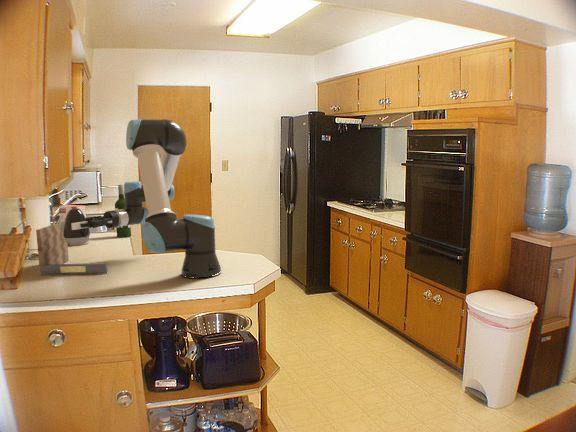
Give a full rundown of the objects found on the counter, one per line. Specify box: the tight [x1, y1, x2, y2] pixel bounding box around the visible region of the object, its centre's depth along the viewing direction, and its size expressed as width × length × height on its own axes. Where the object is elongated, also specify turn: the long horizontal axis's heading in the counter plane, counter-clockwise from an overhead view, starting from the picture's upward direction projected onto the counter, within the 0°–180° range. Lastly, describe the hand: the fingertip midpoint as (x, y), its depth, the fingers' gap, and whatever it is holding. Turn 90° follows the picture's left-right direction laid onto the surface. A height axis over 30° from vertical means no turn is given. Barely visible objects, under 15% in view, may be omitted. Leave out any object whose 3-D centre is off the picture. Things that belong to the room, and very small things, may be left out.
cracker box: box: [58, 204, 89, 247], centre depth 270 cm, size 14×6×21 cm, turn 62°
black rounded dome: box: [63, 208, 91, 246], centre depth 209 cm, size 10×10×15 cm
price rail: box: [39, 262, 109, 276], centre depth 202 cm, size 2×26×4 cm, turn 91°
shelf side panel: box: [35, 222, 70, 275], centre depth 216 cm, size 24×2×18 cm, turn 0°
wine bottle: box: [114, 184, 132, 239], centre depth 289 cm, size 8×8×30 cm
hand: (65, 225), depth 205 cm, fingers closed on black rounded dome, 9 cm apart
